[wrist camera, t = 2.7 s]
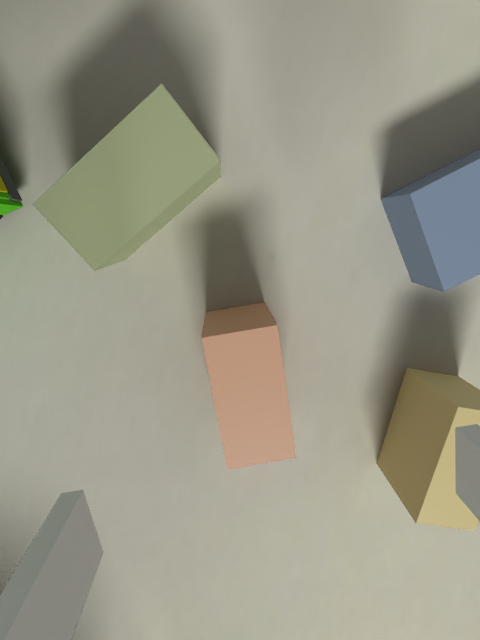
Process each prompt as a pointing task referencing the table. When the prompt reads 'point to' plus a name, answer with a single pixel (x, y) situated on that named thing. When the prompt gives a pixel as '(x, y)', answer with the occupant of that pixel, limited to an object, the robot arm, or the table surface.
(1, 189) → the toy car
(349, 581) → the table surface
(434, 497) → the brick ochre
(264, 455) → the brick terracotta
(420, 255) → the brick slate
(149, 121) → the brick olive
